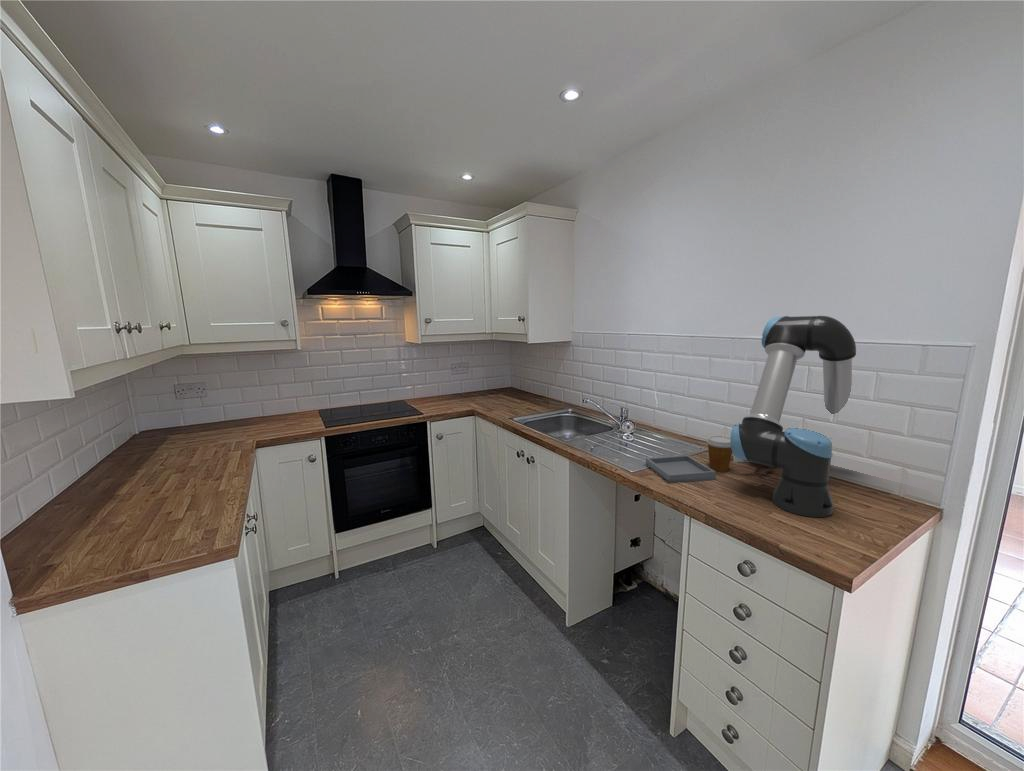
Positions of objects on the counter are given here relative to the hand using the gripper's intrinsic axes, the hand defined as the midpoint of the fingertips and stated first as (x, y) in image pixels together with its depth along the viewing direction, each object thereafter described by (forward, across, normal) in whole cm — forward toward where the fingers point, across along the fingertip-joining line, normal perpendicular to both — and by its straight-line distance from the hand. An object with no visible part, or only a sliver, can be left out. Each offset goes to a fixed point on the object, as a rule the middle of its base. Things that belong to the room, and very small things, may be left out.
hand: (722, 452), depth 154 cm
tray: (+18, -1, -6) cm, 19 cm away
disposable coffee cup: (+1, 0, -7) cm, 7 cm away
